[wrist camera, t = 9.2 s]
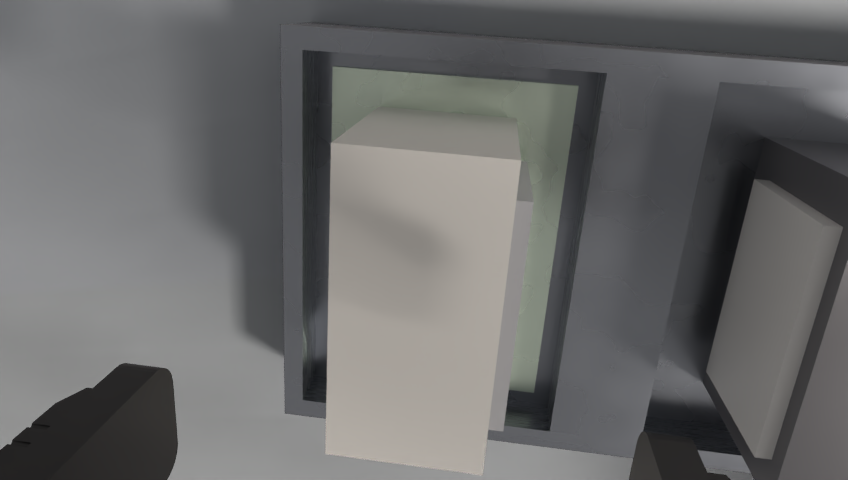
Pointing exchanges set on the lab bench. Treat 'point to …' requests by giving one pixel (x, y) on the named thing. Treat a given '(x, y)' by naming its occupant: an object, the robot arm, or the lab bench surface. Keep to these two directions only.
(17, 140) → the lab bench surface
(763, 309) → the block
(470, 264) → the block
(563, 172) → the tray with compartments
